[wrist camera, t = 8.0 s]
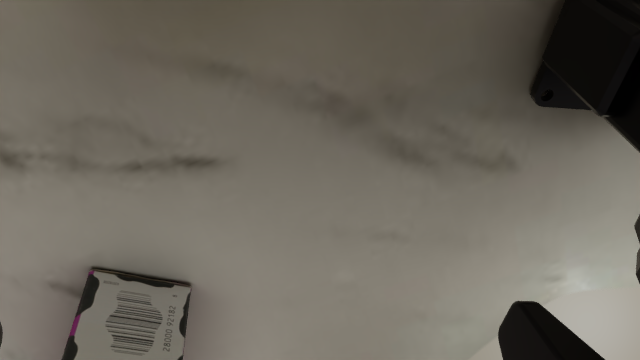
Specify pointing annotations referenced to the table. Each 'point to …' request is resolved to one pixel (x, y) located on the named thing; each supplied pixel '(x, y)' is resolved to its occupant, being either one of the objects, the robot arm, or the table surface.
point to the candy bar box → (129, 319)
